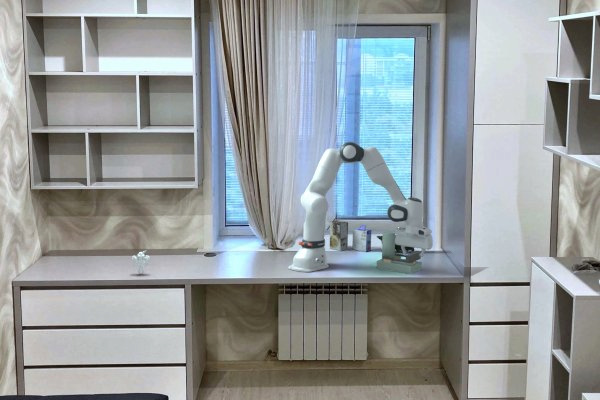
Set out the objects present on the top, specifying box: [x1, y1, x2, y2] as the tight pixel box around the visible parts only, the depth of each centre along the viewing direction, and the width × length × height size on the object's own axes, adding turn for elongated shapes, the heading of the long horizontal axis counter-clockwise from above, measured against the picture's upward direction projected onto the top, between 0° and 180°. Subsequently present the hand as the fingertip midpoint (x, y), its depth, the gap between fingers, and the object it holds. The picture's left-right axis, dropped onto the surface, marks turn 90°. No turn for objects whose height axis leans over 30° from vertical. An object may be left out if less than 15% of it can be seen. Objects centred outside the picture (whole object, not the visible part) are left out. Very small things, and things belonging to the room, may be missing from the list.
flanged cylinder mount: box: [376, 231, 423, 275], centre depth 402 cm, size 12×20×18 cm, turn 54°
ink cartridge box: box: [351, 224, 372, 252], centre depth 444 cm, size 10×6×14 cm, turn 53°
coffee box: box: [329, 219, 349, 252], centre depth 446 cm, size 9×6×16 cm
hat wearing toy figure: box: [131, 249, 150, 275], centre depth 390 cm, size 9×4×12 cm, turn 92°
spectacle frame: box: [381, 250, 422, 263], centre depth 402 cm, size 12×16×4 cm
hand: (413, 255), depth 397 cm, fingers open, 8 cm apart
